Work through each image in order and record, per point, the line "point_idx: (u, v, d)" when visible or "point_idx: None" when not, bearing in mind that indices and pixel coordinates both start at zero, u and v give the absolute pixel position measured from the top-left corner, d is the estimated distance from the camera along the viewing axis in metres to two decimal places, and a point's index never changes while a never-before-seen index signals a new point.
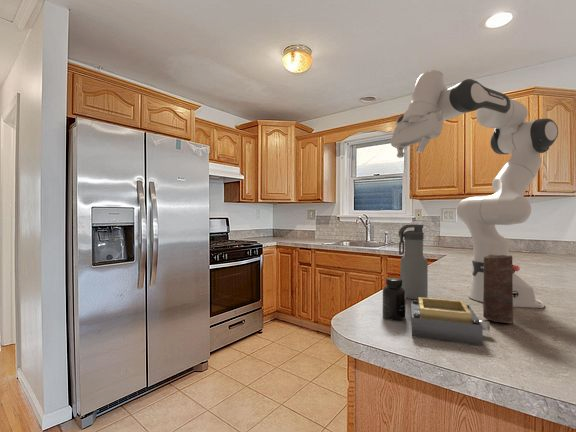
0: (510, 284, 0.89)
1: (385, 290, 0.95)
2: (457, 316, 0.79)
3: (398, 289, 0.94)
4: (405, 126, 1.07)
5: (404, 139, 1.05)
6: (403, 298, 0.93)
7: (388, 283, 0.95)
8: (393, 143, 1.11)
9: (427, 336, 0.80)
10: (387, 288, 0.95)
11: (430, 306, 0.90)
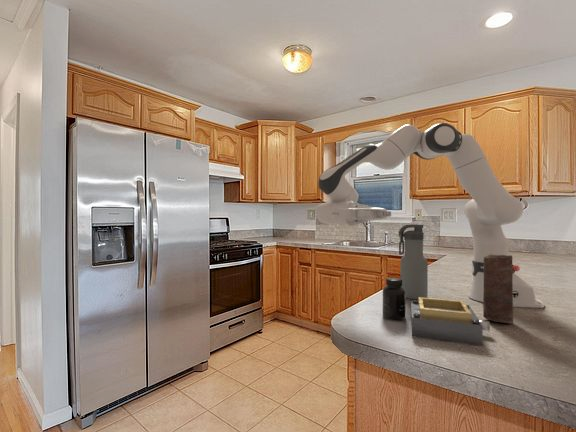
0: (510, 284, 0.89)
1: (385, 290, 0.95)
2: (457, 316, 0.79)
3: (398, 289, 0.94)
4: (363, 219, 1.11)
5: (372, 219, 1.06)
6: (403, 298, 0.93)
7: (388, 283, 0.95)
8: (383, 218, 1.10)
9: (427, 336, 0.80)
10: (387, 288, 0.95)
11: (430, 306, 0.90)
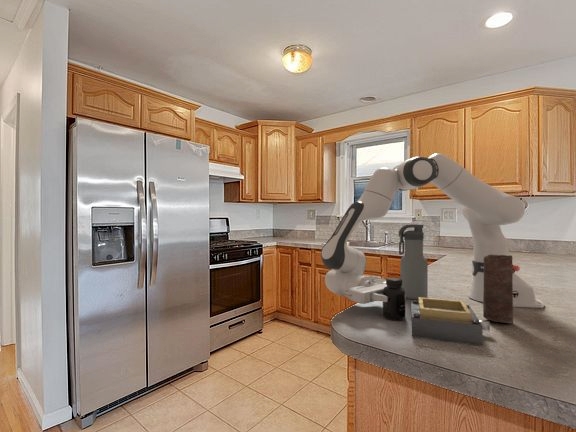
0: (510, 284, 0.89)
1: (385, 290, 0.95)
2: (457, 316, 0.79)
3: (398, 289, 0.94)
4: None
5: None
6: (403, 298, 0.93)
7: (388, 283, 0.95)
8: None
9: (427, 336, 0.80)
10: (387, 288, 0.95)
11: (430, 306, 0.90)
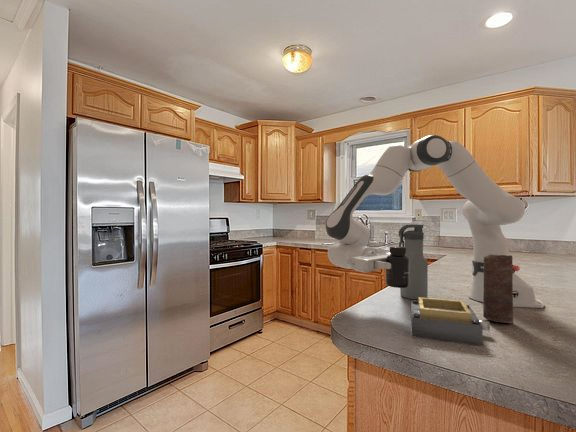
0: (510, 284, 0.89)
1: (388, 257, 0.94)
2: (457, 316, 0.79)
3: (402, 256, 0.93)
4: None
5: None
6: (407, 265, 0.93)
7: (392, 250, 0.94)
8: None
9: (427, 336, 0.80)
10: (391, 256, 0.95)
11: (430, 306, 0.90)
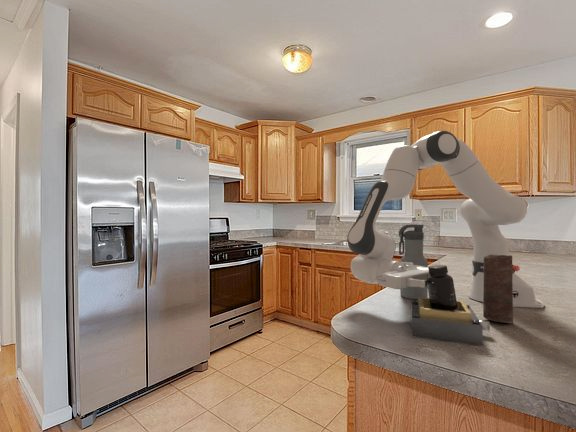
0: (510, 284, 0.89)
1: (430, 280, 0.86)
2: (457, 316, 0.79)
3: (444, 276, 0.85)
4: None
5: None
6: (452, 286, 0.84)
7: (432, 272, 0.86)
8: None
9: (427, 336, 0.80)
10: (431, 277, 0.86)
11: (430, 306, 0.90)
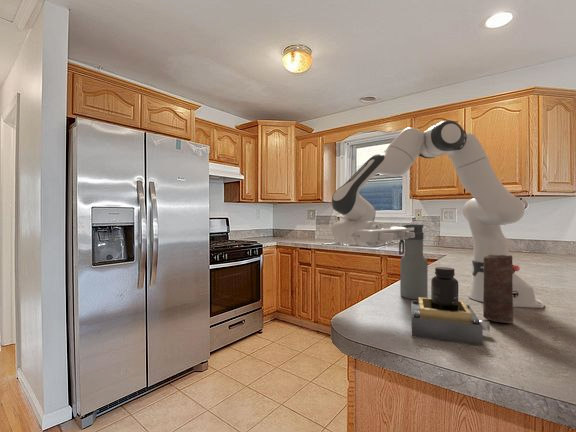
0: (510, 284, 0.89)
1: (435, 280, 0.86)
2: (457, 316, 0.79)
3: (450, 279, 0.84)
4: None
5: None
6: (456, 289, 0.84)
7: (438, 272, 0.86)
8: None
9: (427, 336, 0.80)
10: (437, 278, 0.86)
11: (430, 306, 0.90)
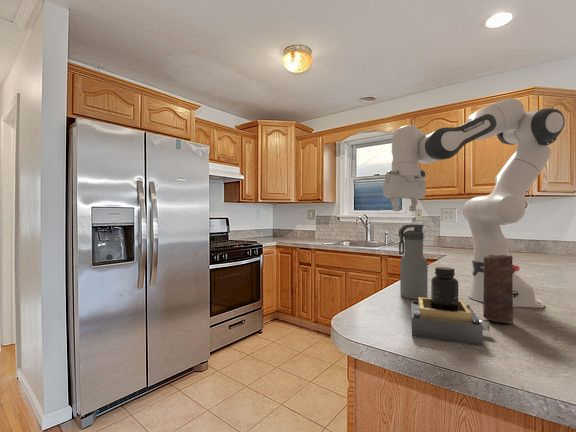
0: (510, 284, 0.89)
1: (435, 280, 0.86)
2: (457, 316, 0.79)
3: (450, 279, 0.84)
4: None
5: None
6: (456, 289, 0.84)
7: (438, 272, 0.86)
8: None
9: (427, 336, 0.80)
10: (437, 278, 0.86)
11: (430, 306, 0.90)
